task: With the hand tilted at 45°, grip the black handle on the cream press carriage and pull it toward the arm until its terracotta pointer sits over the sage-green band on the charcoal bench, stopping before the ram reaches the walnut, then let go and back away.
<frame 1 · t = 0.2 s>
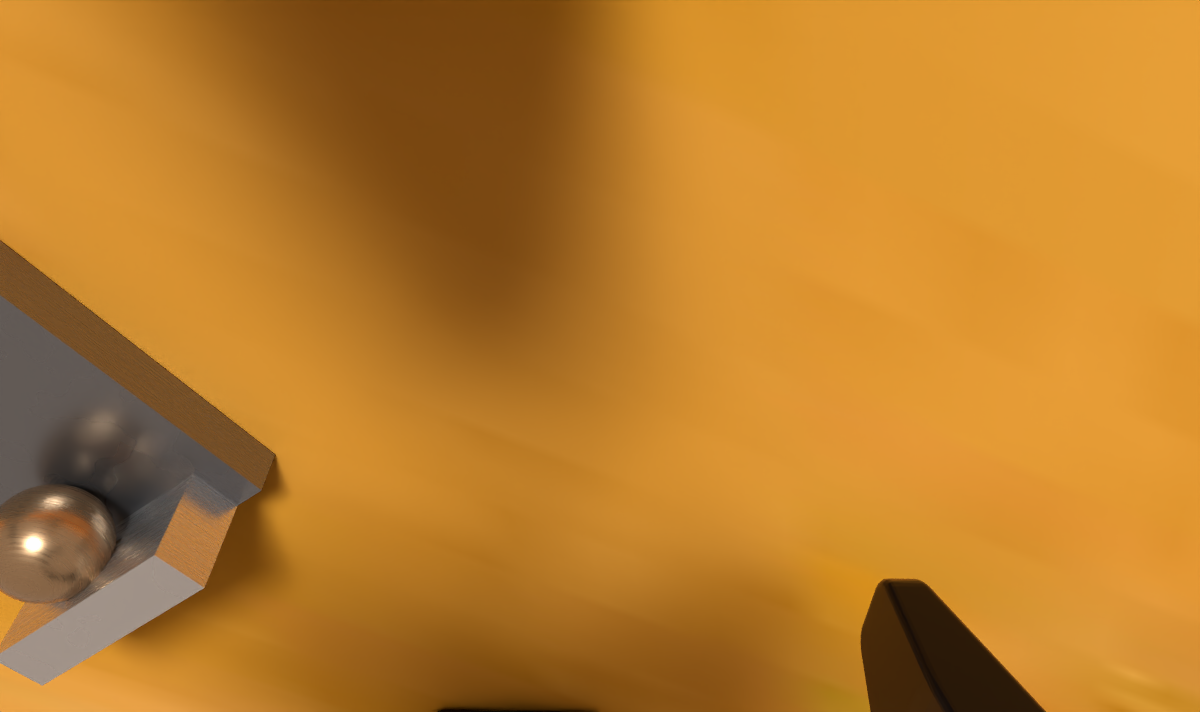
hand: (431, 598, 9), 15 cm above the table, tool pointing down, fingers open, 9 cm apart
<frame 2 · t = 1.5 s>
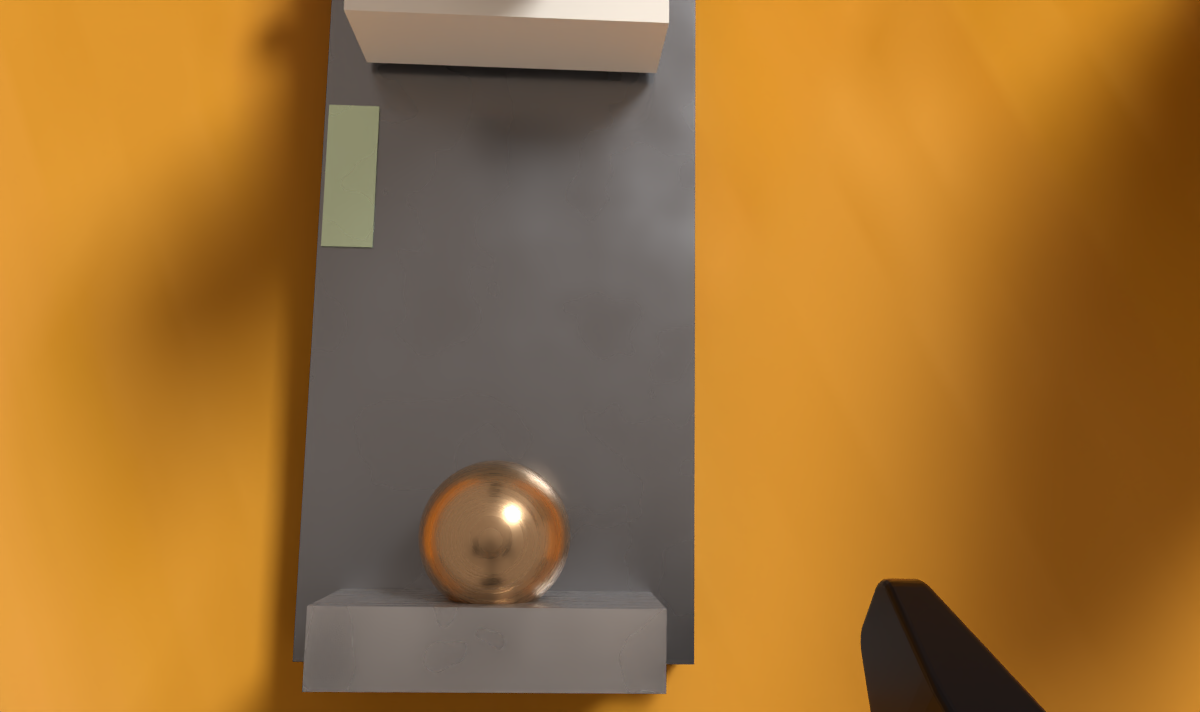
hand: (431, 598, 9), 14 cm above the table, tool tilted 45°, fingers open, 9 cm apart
nutcracker bench: (512, 209, 24), on the table
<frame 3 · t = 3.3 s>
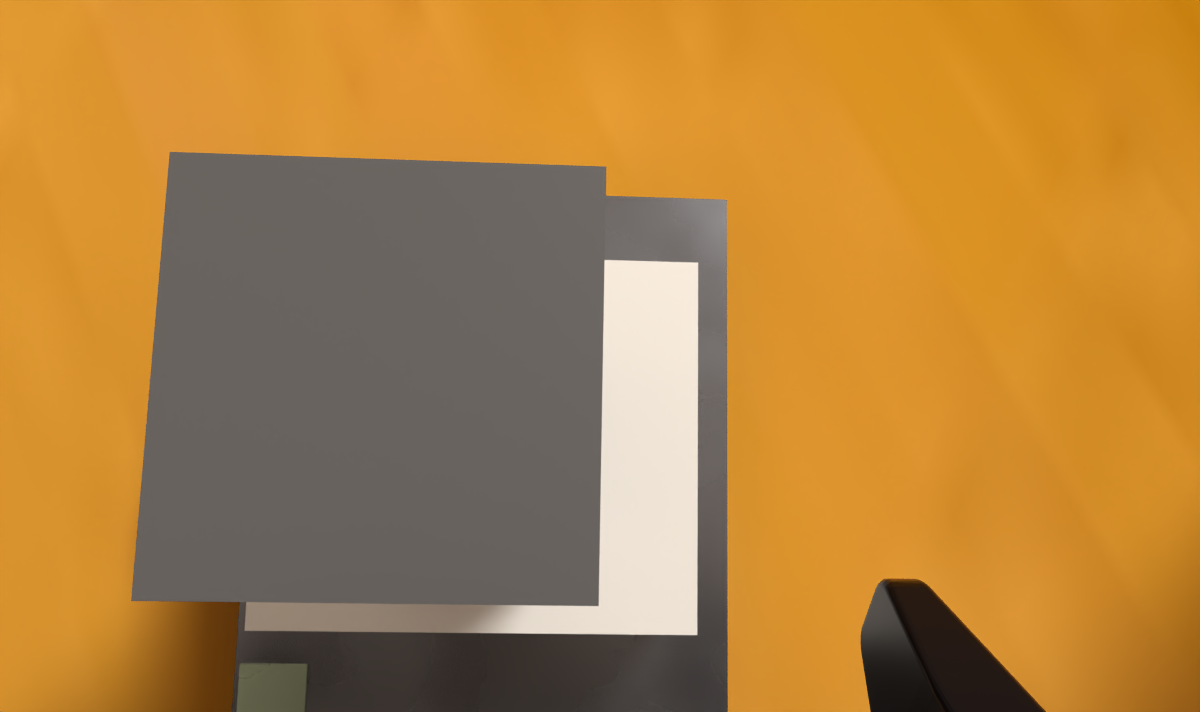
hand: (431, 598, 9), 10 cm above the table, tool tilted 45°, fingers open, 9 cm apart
press carriage: (393, 425, 12), point 7 cm above the table, slide at 0.0 cm
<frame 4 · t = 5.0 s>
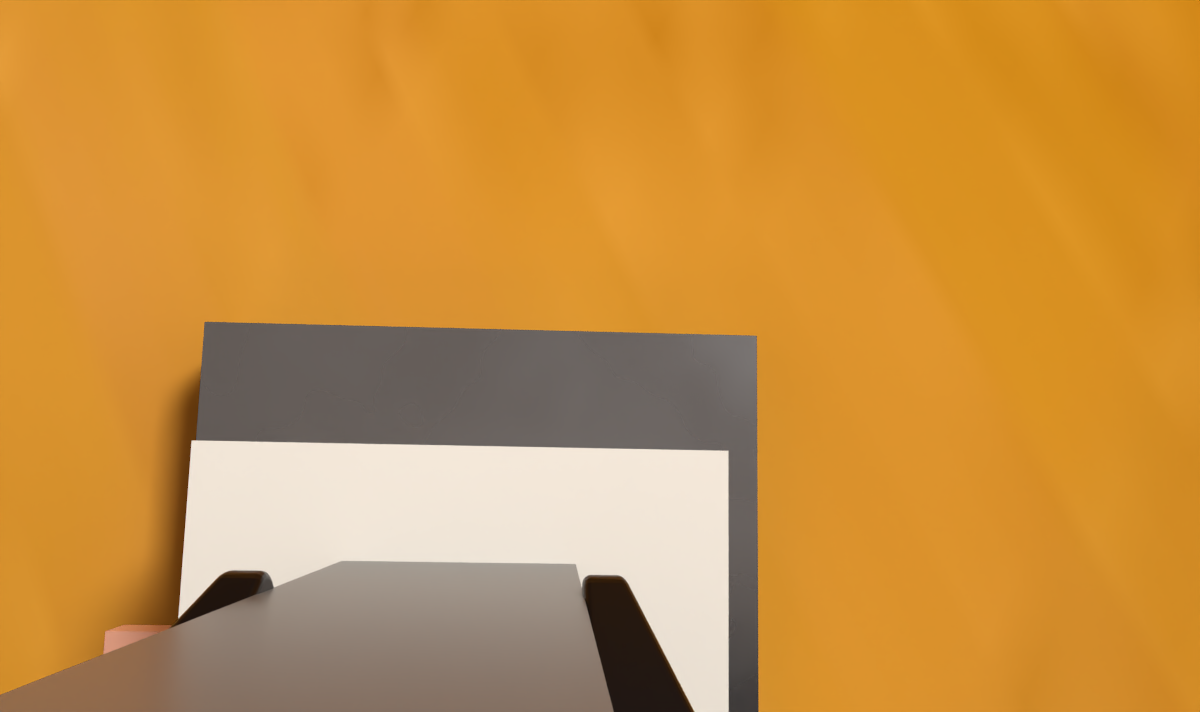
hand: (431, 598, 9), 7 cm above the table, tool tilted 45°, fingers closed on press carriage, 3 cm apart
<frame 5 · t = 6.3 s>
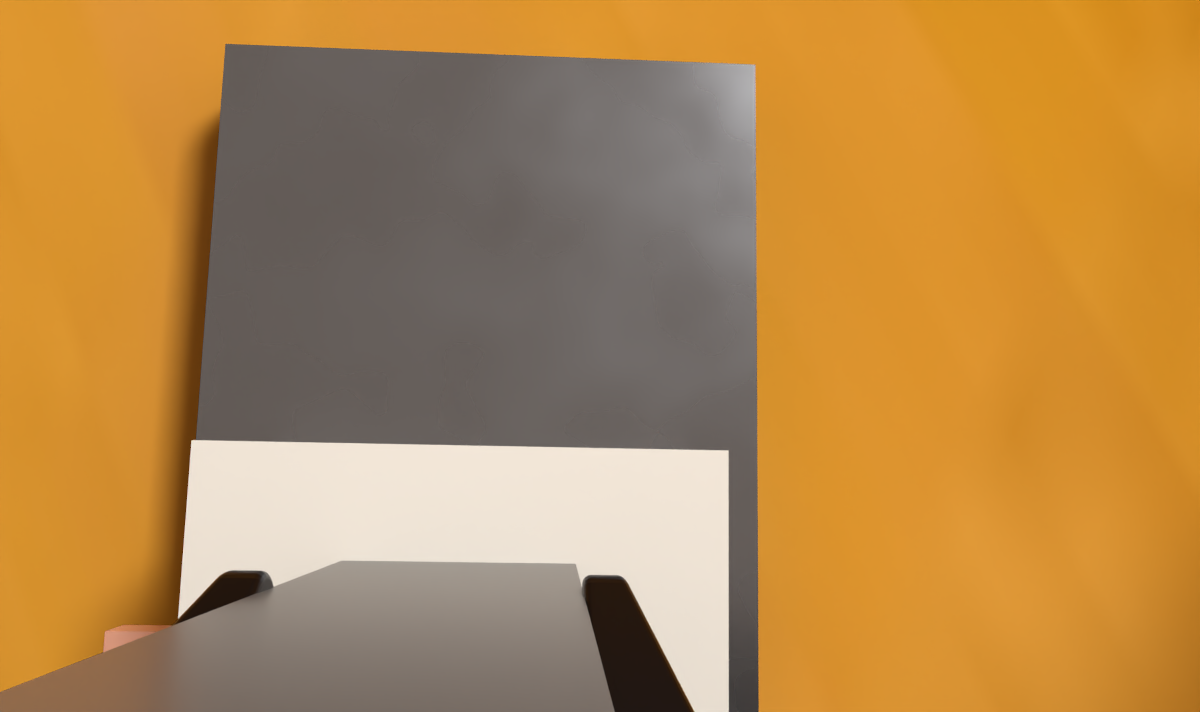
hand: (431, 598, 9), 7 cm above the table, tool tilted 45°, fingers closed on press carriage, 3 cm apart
nutcracker bench: (478, 704, 16), on the table
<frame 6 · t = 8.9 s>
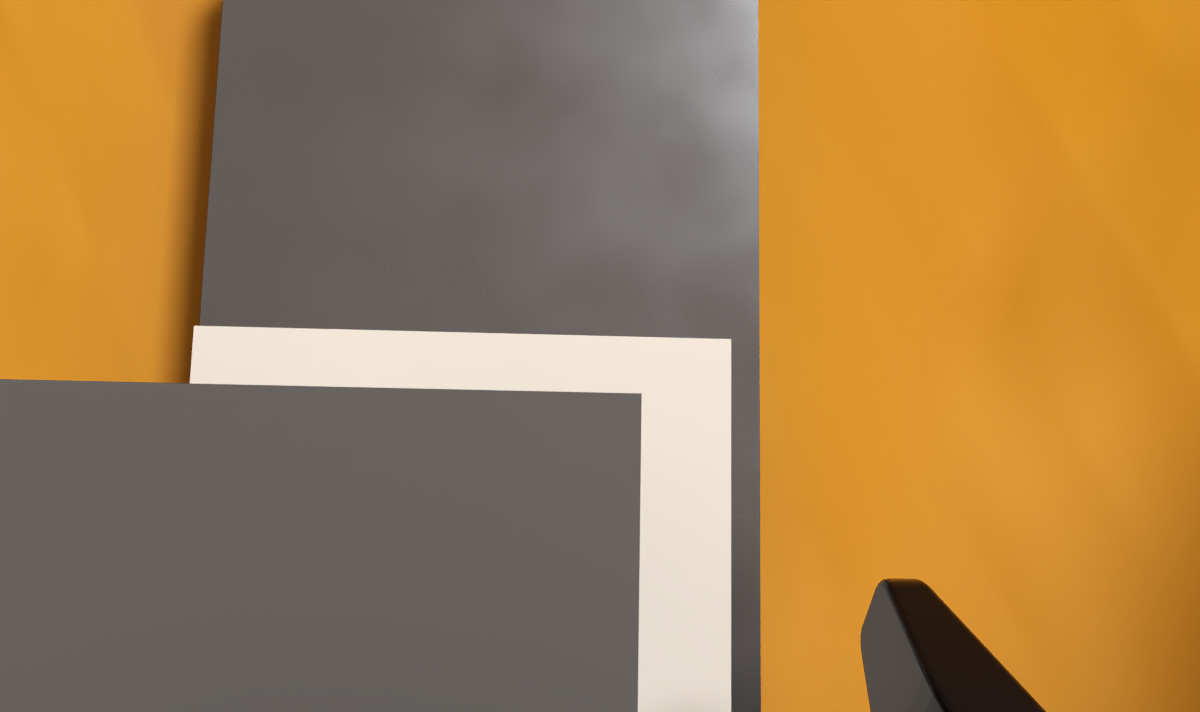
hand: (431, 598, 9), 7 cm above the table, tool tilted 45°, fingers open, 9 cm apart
nutcracker bench: (482, 571, 16), on the table
press carriage: (332, 598, 9), point 7 cm above the table, slide at 5.5 cm
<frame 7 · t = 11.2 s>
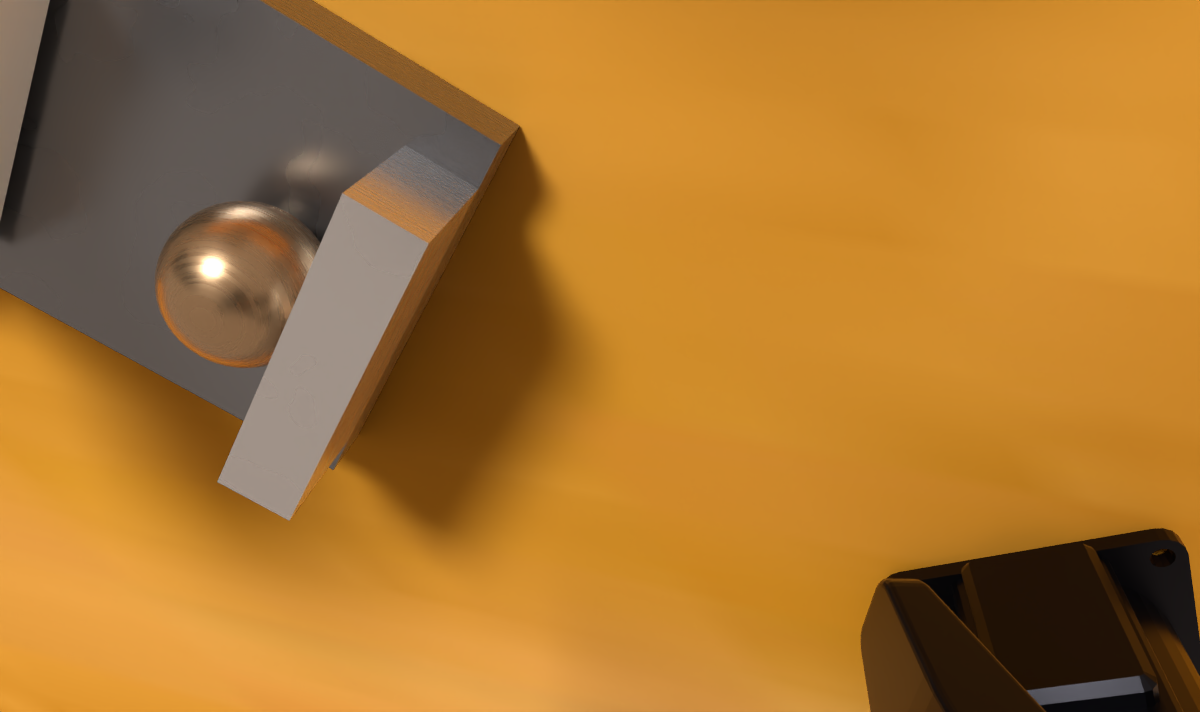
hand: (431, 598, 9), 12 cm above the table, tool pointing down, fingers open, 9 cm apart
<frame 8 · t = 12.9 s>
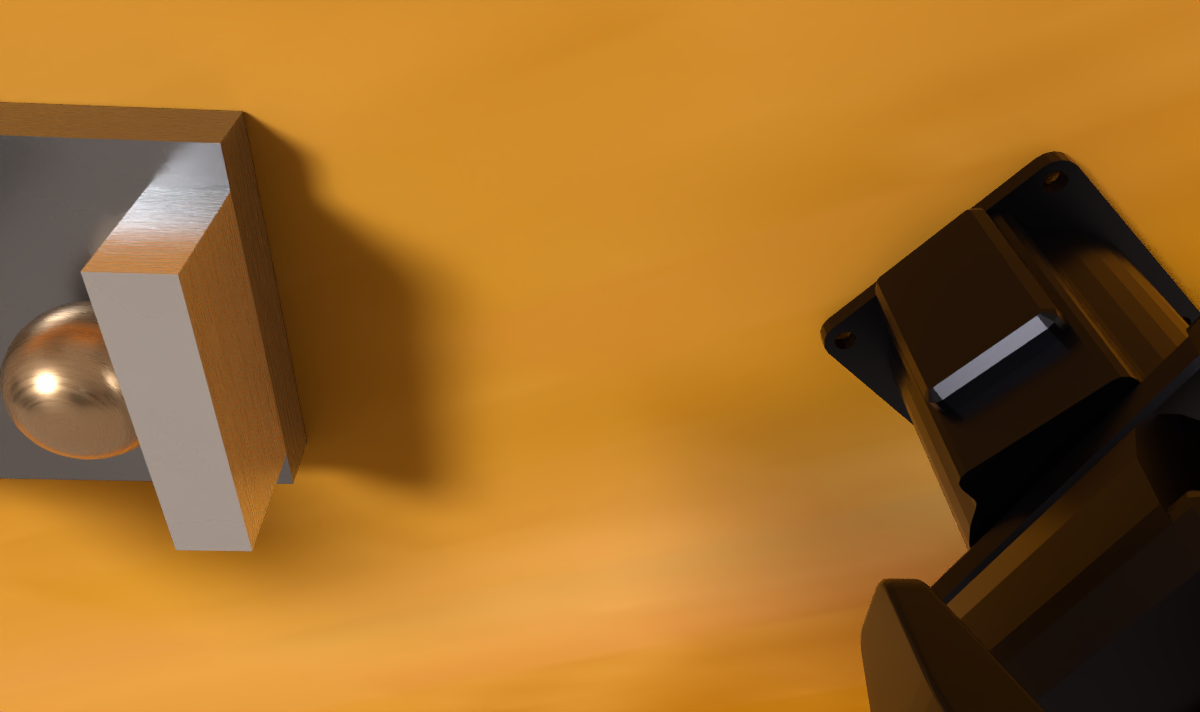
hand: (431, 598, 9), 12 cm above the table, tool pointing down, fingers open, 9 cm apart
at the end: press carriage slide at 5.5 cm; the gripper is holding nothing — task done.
